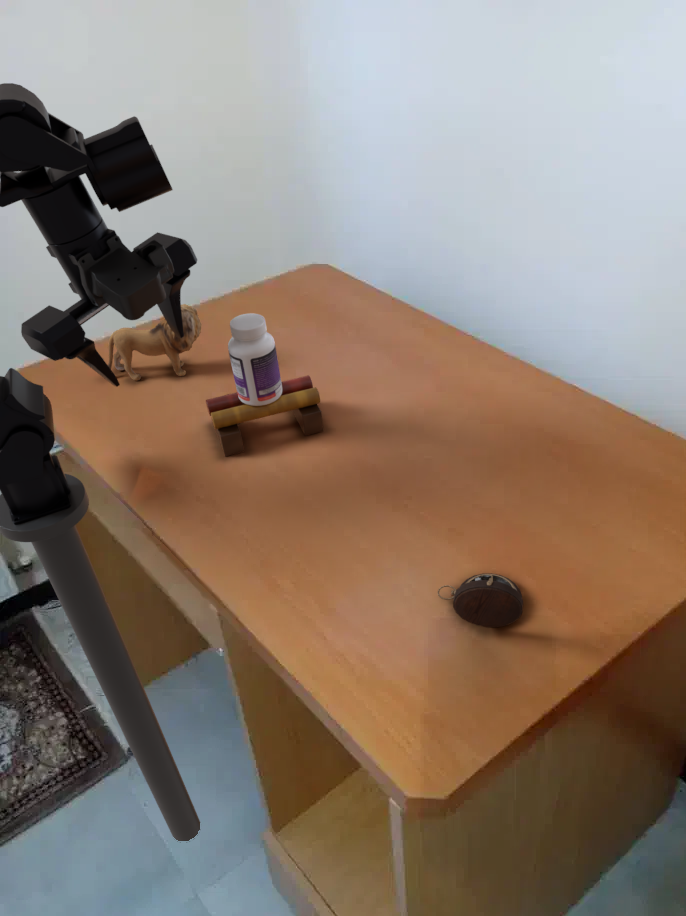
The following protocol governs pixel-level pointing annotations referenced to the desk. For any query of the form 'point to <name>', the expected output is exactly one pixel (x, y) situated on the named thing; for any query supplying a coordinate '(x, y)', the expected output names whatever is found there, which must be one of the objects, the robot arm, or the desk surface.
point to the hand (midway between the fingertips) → (149, 360)
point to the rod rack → (265, 412)
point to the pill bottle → (254, 360)
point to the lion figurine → (155, 342)
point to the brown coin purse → (487, 600)
